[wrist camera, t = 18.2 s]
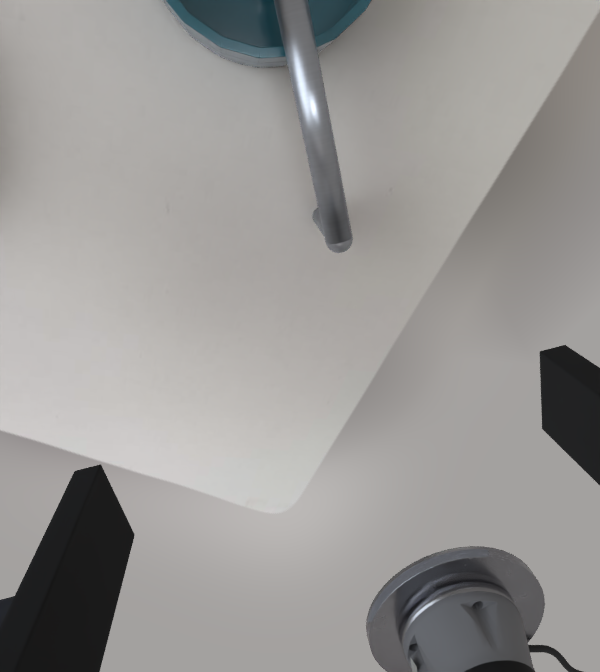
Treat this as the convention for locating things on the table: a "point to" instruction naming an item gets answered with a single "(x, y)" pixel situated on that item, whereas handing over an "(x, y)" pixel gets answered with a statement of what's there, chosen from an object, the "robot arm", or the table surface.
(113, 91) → the table surface
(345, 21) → the bowl
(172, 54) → the table surface
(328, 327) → the table surface
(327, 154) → the ladle
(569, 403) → the robot arm
